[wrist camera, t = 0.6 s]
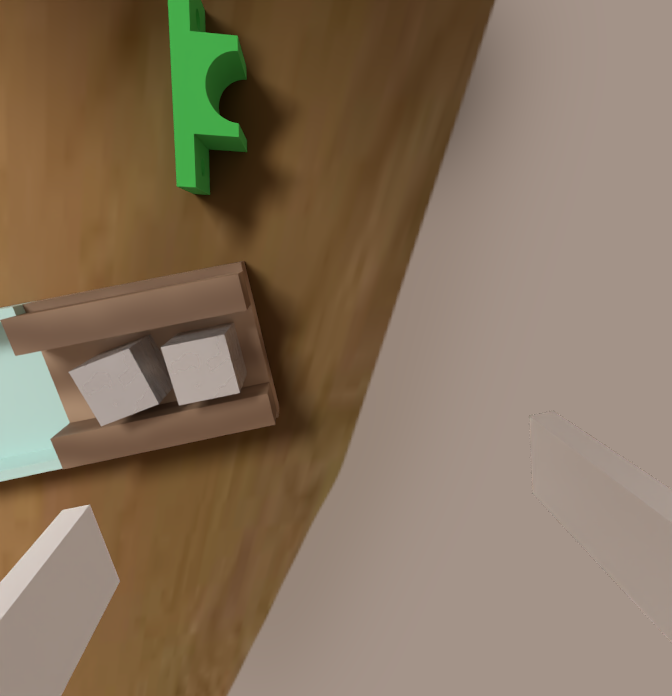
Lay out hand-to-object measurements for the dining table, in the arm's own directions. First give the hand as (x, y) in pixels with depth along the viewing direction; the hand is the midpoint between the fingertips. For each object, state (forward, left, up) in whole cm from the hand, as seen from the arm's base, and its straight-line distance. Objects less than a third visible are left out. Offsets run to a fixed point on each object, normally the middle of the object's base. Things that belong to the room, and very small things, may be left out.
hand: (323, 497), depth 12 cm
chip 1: (-1, -12, -19) cm, 22 cm away
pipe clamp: (-17, -3, -21) cm, 27 cm away
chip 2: (-1, -7, -19) cm, 20 cm away
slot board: (-1, -11, -21) cm, 23 cm away
